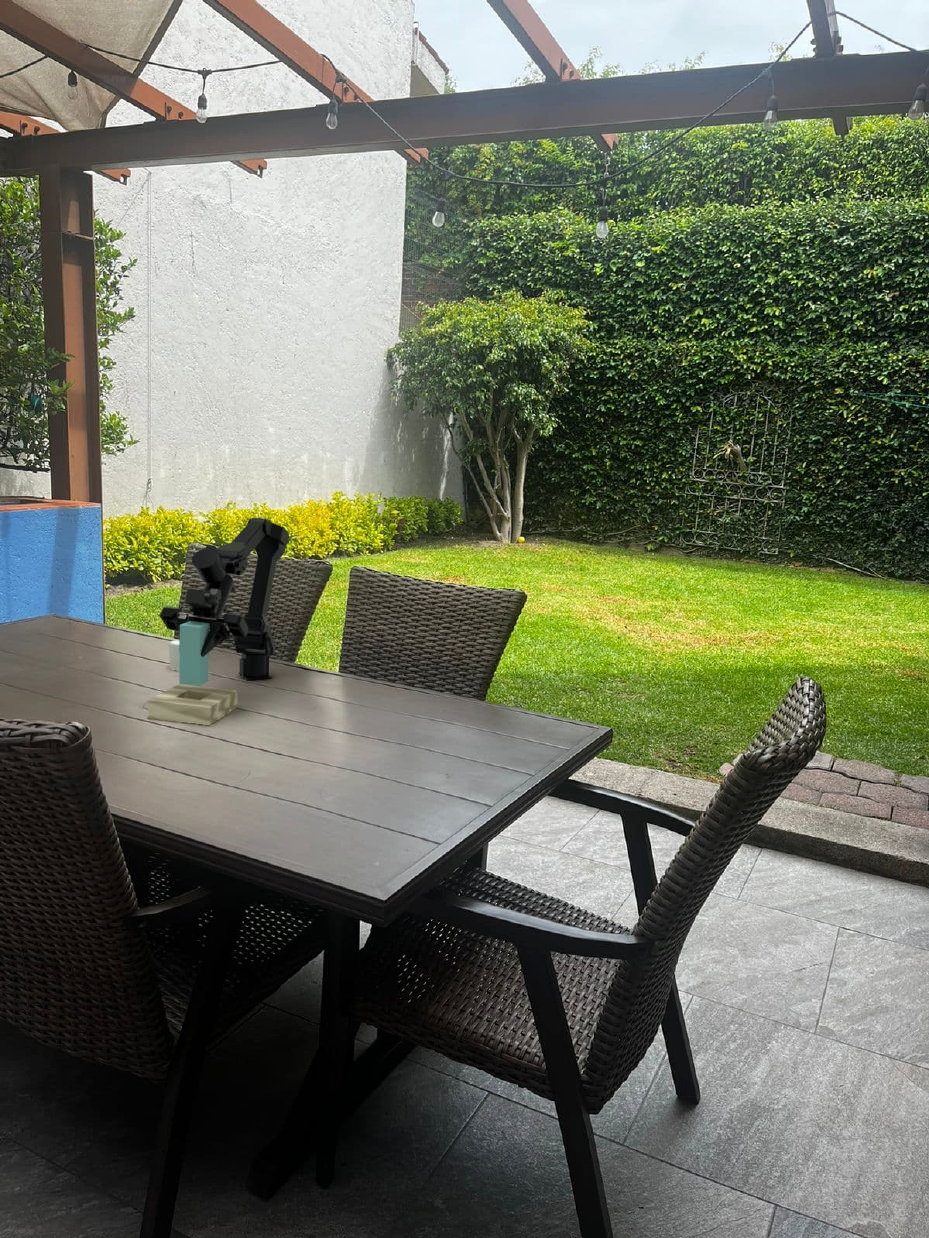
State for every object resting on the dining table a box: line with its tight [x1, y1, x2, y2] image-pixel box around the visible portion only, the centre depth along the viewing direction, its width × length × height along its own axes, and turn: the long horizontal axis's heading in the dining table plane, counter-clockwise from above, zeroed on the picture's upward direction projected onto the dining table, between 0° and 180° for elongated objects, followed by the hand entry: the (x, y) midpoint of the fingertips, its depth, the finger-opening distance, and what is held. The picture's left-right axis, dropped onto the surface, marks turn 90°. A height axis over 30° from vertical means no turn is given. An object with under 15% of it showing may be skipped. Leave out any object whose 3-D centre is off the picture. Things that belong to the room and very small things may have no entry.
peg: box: [178, 621, 210, 686], centre depth 198 cm, size 4×4×13 cm
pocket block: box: [147, 684, 238, 726], centre depth 200 cm, size 14×14×4 cm
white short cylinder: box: [167, 639, 180, 672], centre depth 235 cm, size 7×7×7 cm
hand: (191, 654), depth 196 cm, fingers closed on peg, 4 cm apart
